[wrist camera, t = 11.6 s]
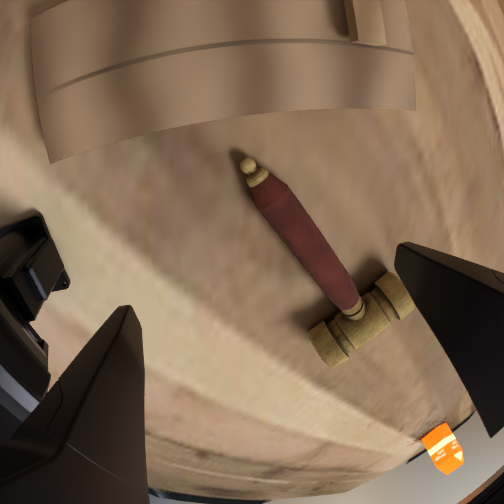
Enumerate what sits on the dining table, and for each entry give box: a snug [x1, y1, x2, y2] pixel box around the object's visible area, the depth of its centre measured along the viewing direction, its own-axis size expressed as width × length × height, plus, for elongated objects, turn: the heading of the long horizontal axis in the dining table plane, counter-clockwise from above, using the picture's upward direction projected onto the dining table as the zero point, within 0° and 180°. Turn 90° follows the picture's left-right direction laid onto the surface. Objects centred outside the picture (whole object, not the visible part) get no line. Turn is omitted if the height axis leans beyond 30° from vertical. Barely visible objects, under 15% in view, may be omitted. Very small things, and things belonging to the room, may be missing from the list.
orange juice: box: [422, 423, 464, 474], centre depth 68 cm, size 8×9×20 cm
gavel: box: [240, 158, 415, 368], centre depth 23 cm, size 21×5×10 cm
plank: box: [30, 0, 416, 164], centre depth 13 cm, size 24×10×3 cm, turn 96°
